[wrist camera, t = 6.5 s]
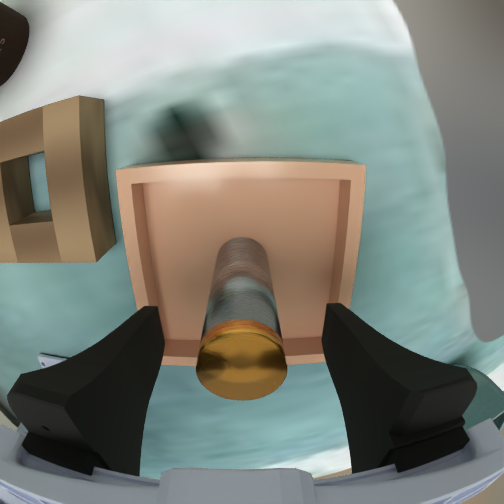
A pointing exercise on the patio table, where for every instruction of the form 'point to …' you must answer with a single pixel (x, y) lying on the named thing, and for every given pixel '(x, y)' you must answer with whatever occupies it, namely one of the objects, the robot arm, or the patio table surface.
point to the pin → (241, 326)
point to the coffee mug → (11, 40)
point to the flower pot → (484, 402)
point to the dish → (242, 225)
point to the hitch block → (56, 184)
